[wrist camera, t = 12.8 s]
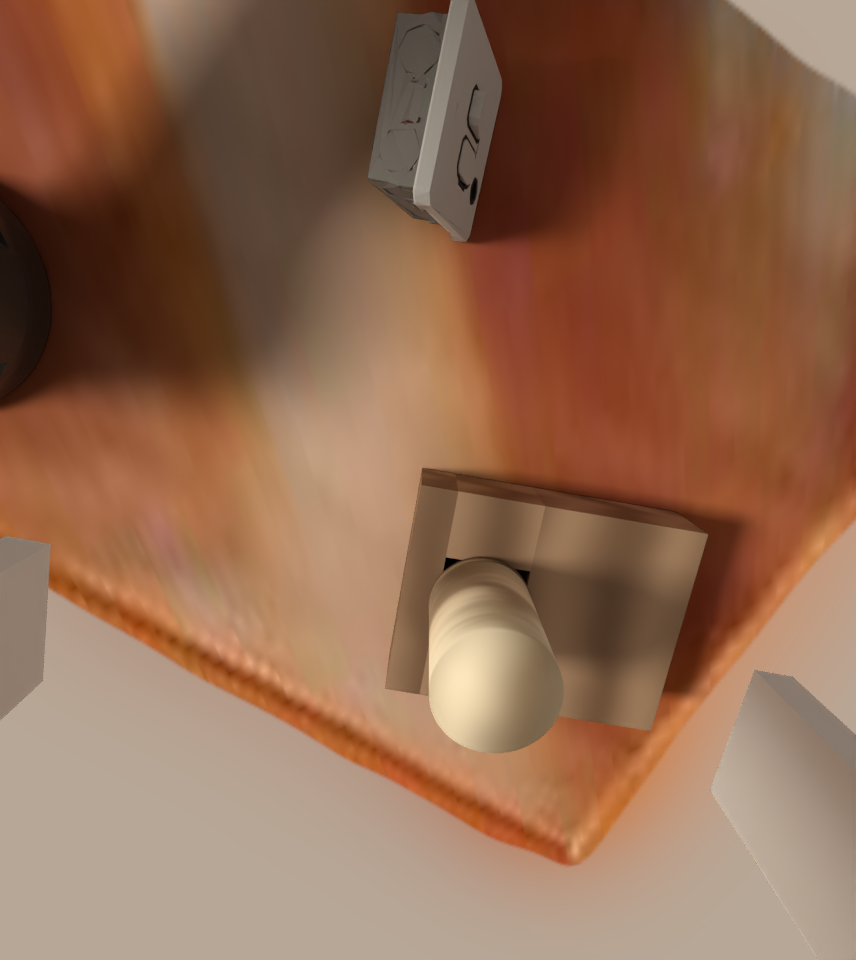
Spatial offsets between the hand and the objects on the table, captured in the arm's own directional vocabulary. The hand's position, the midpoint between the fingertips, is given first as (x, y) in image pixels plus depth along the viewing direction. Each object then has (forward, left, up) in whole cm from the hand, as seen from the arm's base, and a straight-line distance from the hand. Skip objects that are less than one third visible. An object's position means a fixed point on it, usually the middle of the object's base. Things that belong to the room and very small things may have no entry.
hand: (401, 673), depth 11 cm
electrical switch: (-2, +17, -31) cm, 35 cm away
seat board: (+9, -9, -30) cm, 33 cm away
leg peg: (+5, -9, -30) cm, 32 cm away
